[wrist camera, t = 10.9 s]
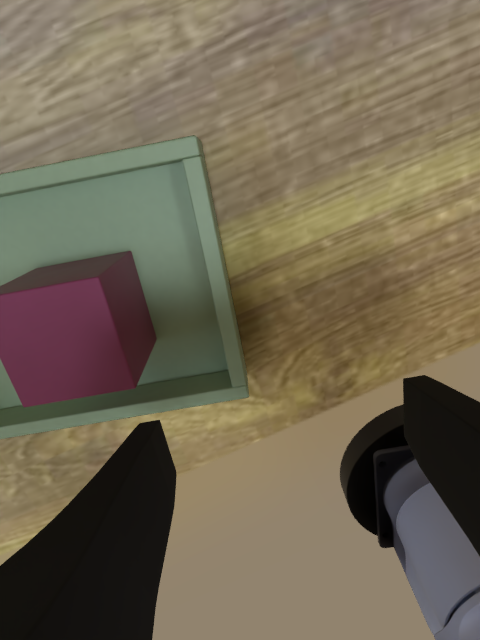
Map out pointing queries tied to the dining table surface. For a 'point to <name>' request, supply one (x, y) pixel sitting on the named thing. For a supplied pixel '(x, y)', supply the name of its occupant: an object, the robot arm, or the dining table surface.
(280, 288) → the dining table surface
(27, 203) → the tray
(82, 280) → the mulberry block
